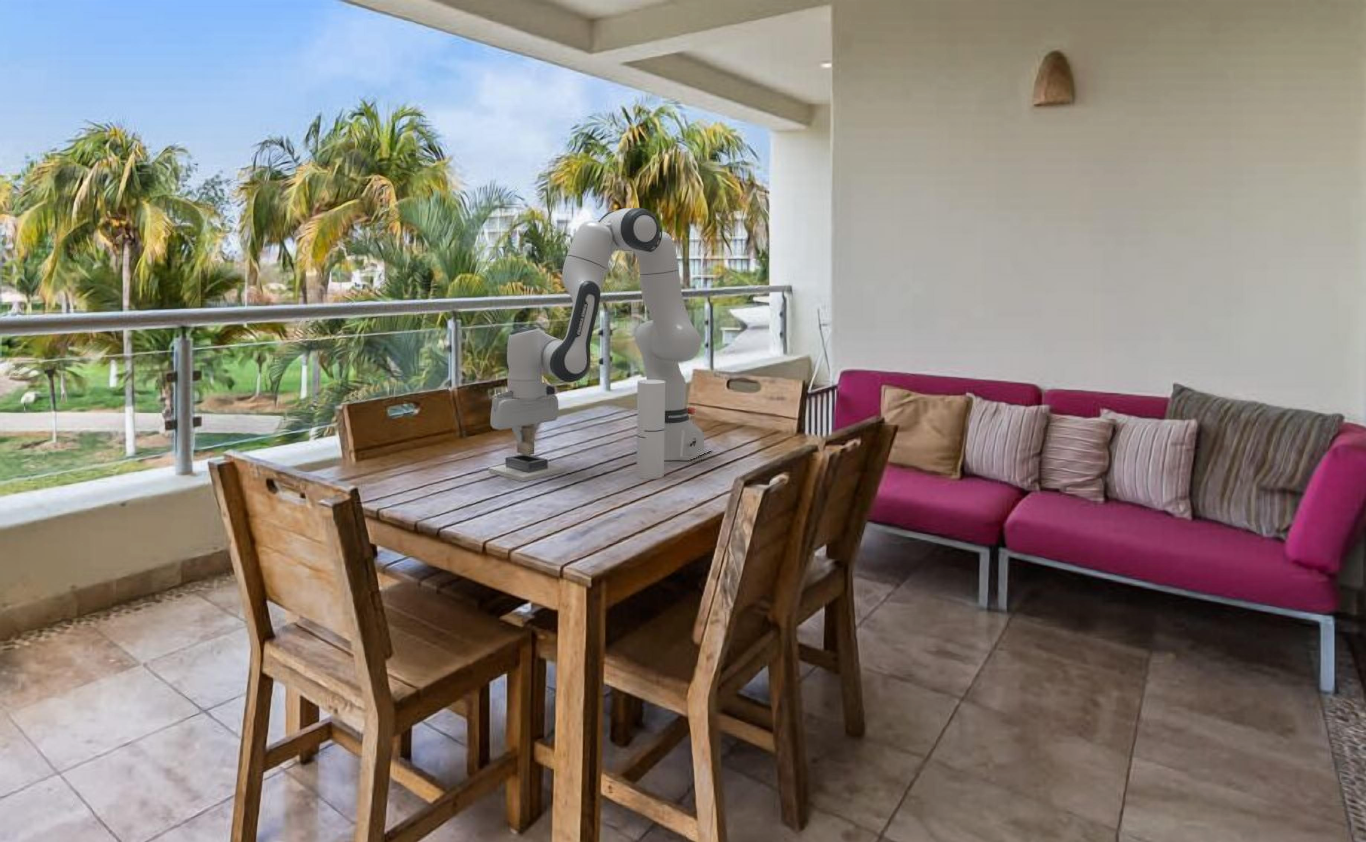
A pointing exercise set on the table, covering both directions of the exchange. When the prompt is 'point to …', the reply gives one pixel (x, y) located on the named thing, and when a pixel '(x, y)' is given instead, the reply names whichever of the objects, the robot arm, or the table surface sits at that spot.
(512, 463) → the frame
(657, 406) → the cylindrical container
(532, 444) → the wooden block
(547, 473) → the plate
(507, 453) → the table surface
